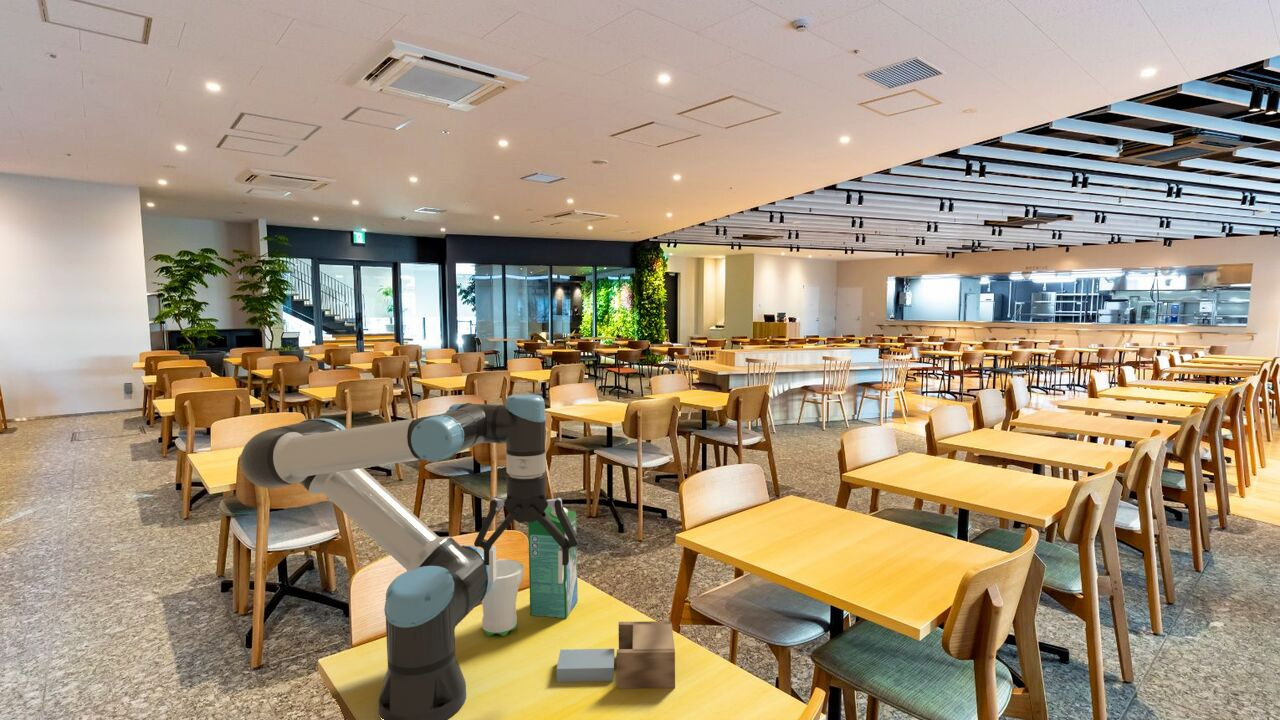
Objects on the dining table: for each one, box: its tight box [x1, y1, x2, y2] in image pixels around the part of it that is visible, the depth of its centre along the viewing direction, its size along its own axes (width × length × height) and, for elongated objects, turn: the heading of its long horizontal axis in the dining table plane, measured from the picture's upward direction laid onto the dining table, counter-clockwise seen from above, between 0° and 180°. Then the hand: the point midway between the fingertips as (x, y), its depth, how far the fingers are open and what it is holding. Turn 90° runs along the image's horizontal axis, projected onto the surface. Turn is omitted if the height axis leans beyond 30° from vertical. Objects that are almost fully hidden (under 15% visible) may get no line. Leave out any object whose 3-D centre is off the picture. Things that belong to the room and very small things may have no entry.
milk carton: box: [527, 506, 578, 619], centre depth 150 cm, size 9×9×25 cm
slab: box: [556, 648, 615, 683], centre depth 124 cm, size 11×7×3 cm, turn 91°
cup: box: [481, 558, 525, 637], centre depth 140 cm, size 11×11×14 cm
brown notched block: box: [616, 620, 676, 689], centre depth 124 cm, size 11×12×7 cm
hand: (527, 580), depth 123 cm, fingers open, 13 cm apart
